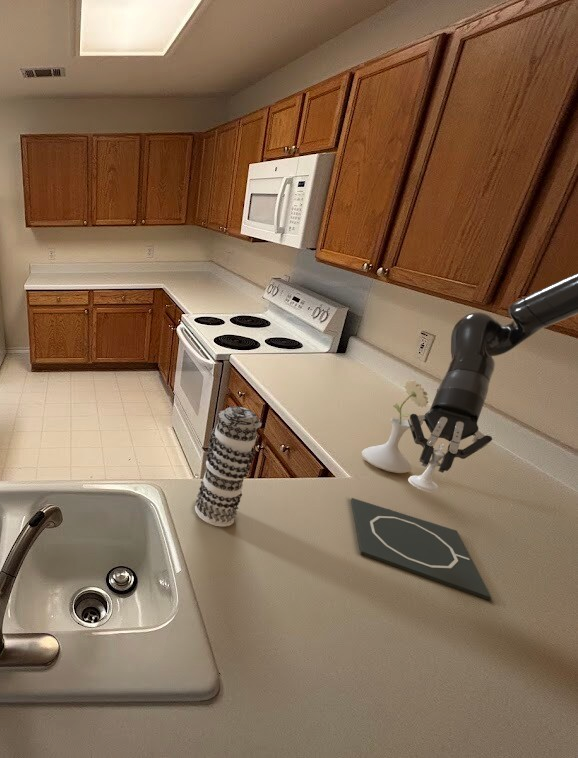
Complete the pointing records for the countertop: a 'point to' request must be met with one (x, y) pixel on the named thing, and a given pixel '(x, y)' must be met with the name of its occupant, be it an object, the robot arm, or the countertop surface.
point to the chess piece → (428, 473)
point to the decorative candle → (227, 465)
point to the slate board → (416, 547)
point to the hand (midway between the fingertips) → (433, 467)
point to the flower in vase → (396, 436)
